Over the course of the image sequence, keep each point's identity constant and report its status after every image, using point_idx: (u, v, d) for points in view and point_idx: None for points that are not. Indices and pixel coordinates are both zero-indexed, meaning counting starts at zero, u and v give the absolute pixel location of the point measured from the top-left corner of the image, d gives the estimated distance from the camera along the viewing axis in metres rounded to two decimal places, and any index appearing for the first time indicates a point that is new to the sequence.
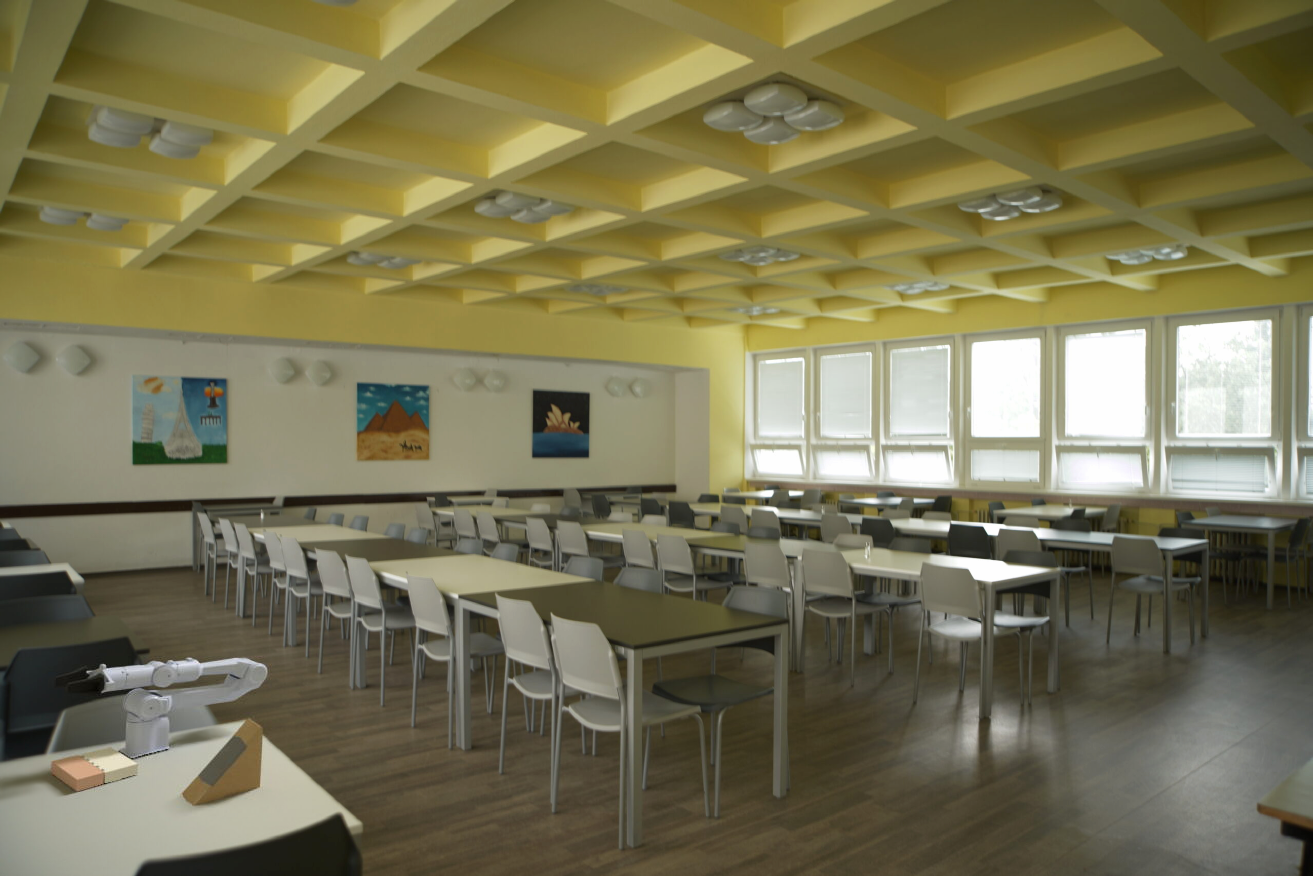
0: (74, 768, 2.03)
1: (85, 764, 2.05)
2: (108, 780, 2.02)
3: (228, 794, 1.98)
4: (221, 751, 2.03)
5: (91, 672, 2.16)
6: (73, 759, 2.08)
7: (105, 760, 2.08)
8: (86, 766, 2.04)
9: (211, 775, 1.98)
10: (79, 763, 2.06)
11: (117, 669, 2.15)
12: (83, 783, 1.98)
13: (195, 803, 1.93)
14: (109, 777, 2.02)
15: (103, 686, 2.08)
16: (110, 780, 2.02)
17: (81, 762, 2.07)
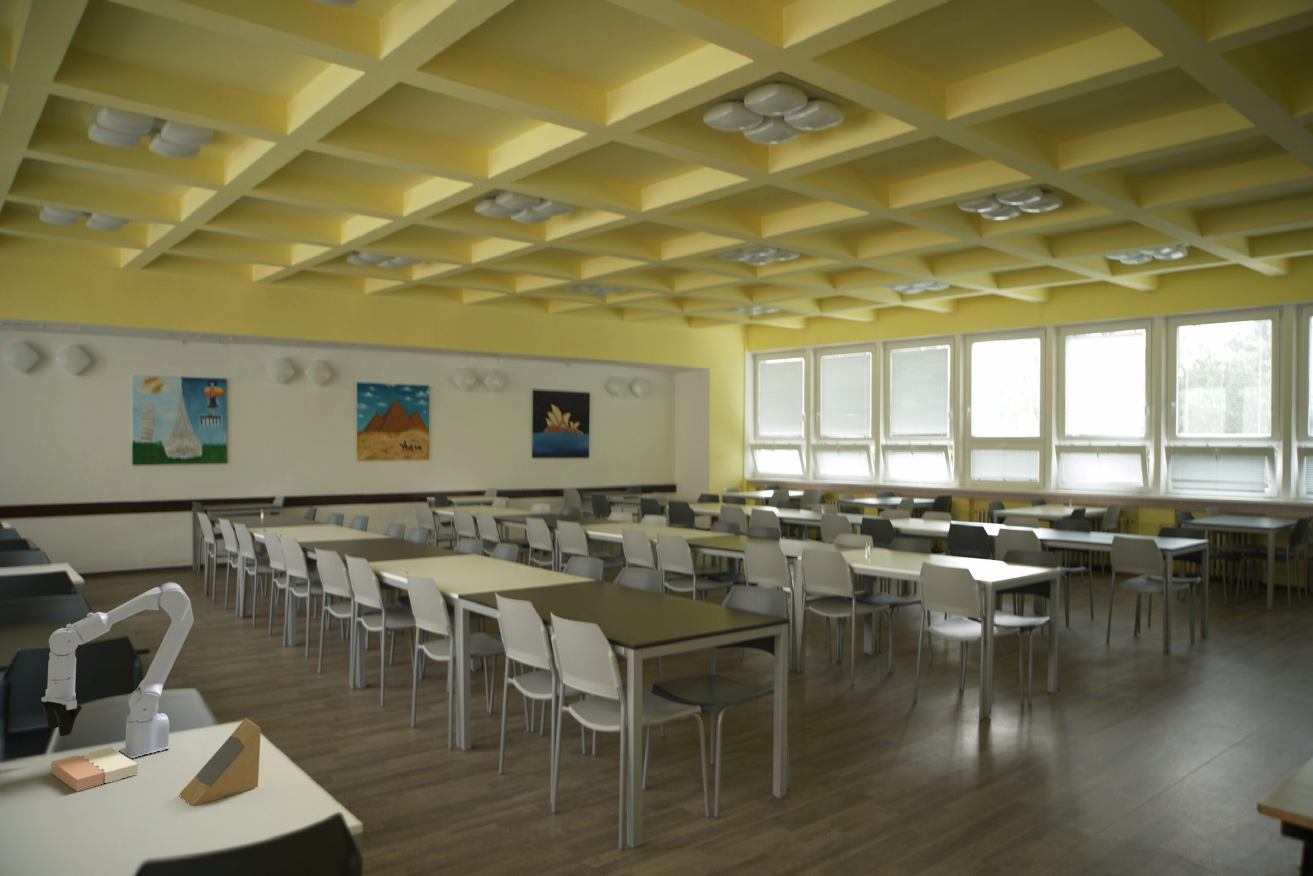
0: (74, 768, 2.03)
1: (85, 764, 2.05)
2: (108, 780, 2.02)
3: (226, 794, 1.98)
4: (218, 751, 2.03)
5: None
6: (73, 759, 2.08)
7: (105, 760, 2.08)
8: (86, 766, 2.04)
9: (209, 775, 1.97)
10: (79, 763, 2.06)
11: (50, 687, 2.08)
12: (83, 783, 1.98)
13: (193, 804, 1.93)
14: (109, 777, 2.02)
15: (70, 708, 2.07)
16: (110, 780, 2.02)
17: (81, 762, 2.07)
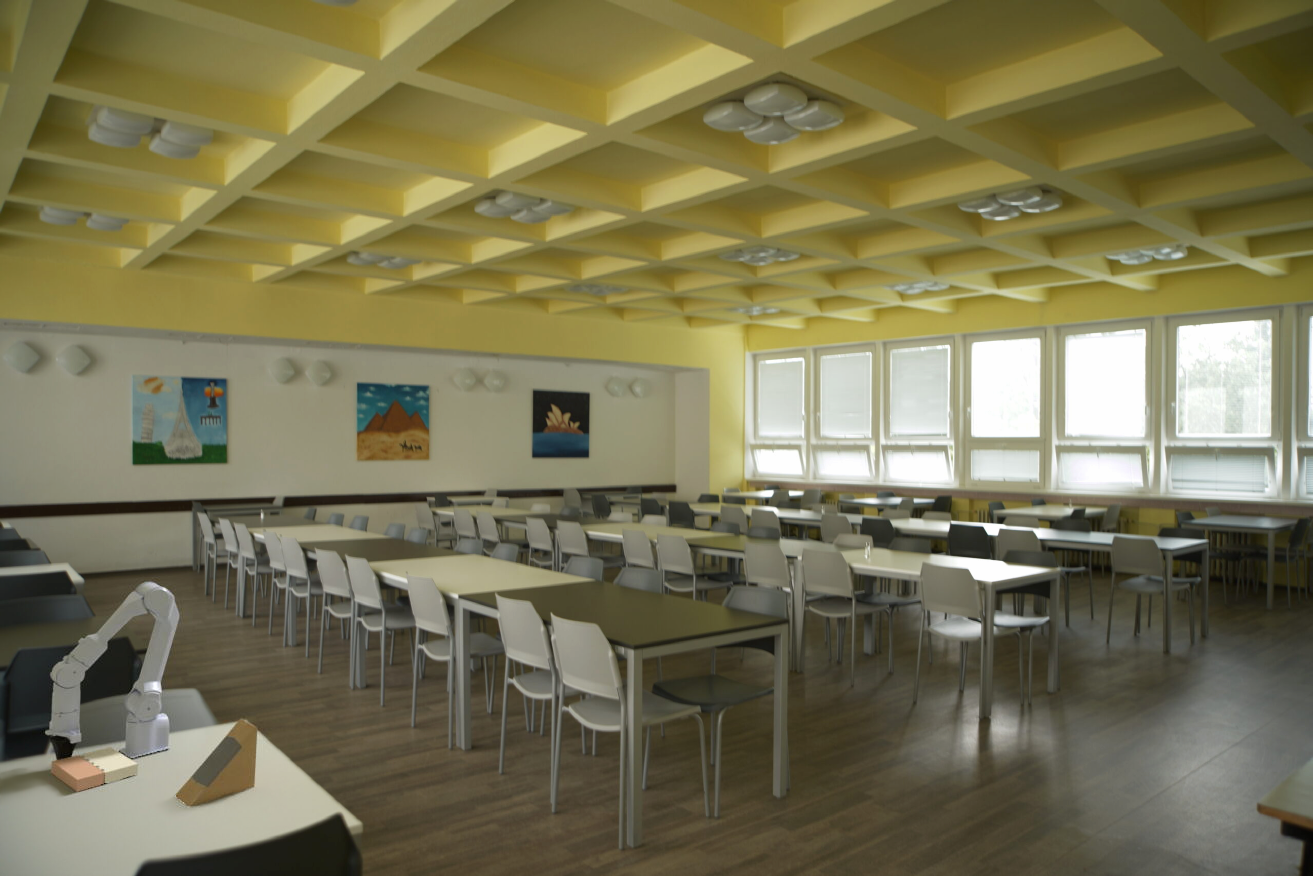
0: (75, 768, 2.03)
1: (85, 764, 2.05)
2: (108, 780, 2.02)
3: (223, 794, 1.98)
4: (214, 752, 2.03)
5: None
6: (73, 759, 2.08)
7: (105, 760, 2.08)
8: (86, 766, 2.04)
9: (206, 776, 1.97)
10: (79, 763, 2.06)
11: (54, 720, 2.06)
12: (83, 783, 1.98)
13: (191, 804, 1.92)
14: (109, 777, 2.02)
15: None
16: (110, 780, 2.02)
17: (81, 762, 2.06)
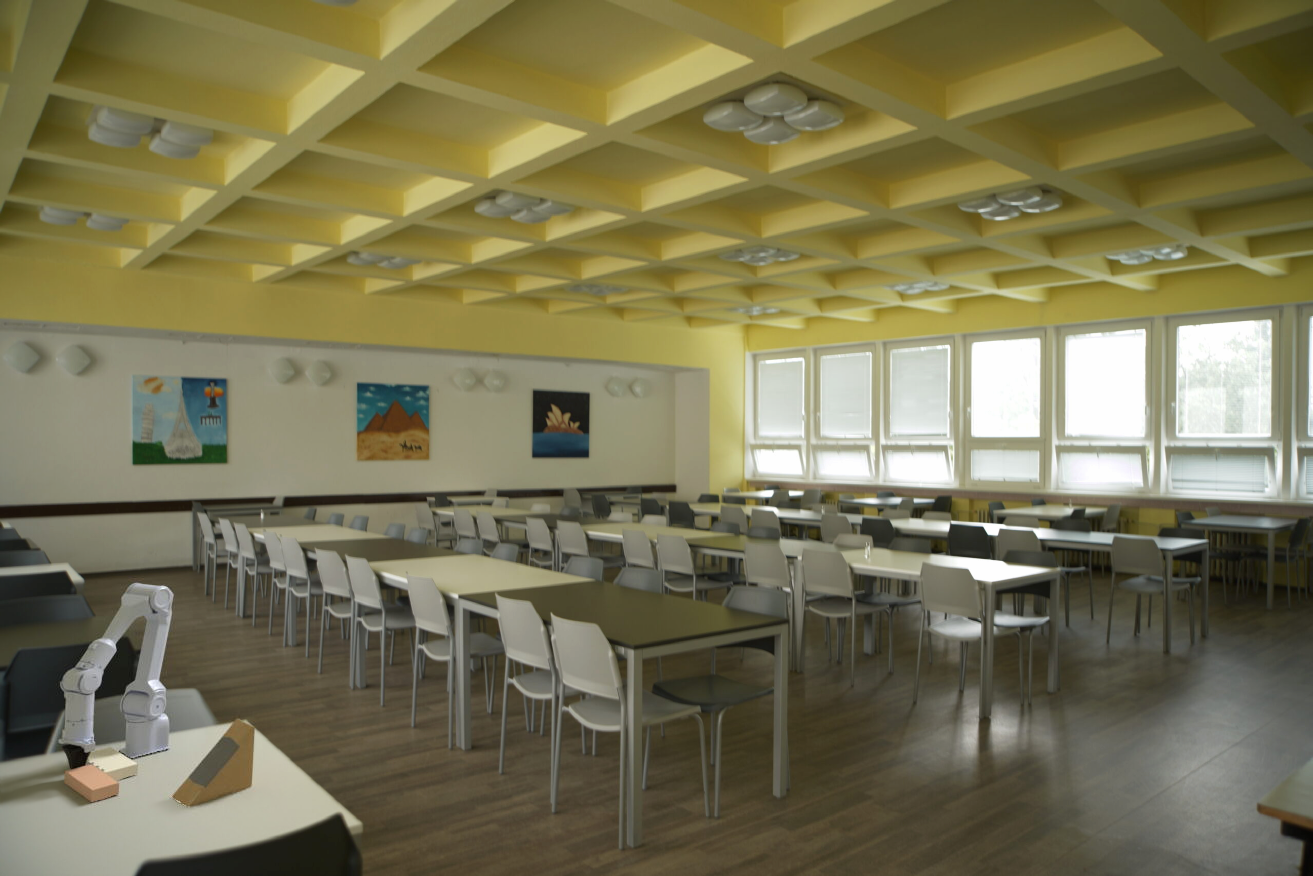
0: (89, 778, 1.98)
1: (99, 774, 2.00)
2: None
3: (221, 795, 1.98)
4: (211, 752, 2.02)
5: None
6: (87, 768, 2.03)
7: (105, 760, 2.08)
8: (100, 776, 1.99)
9: (203, 776, 1.97)
10: (93, 772, 2.01)
11: (68, 728, 2.01)
12: (98, 793, 1.93)
13: (189, 805, 1.92)
14: None
15: None
16: None
17: (96, 771, 2.01)
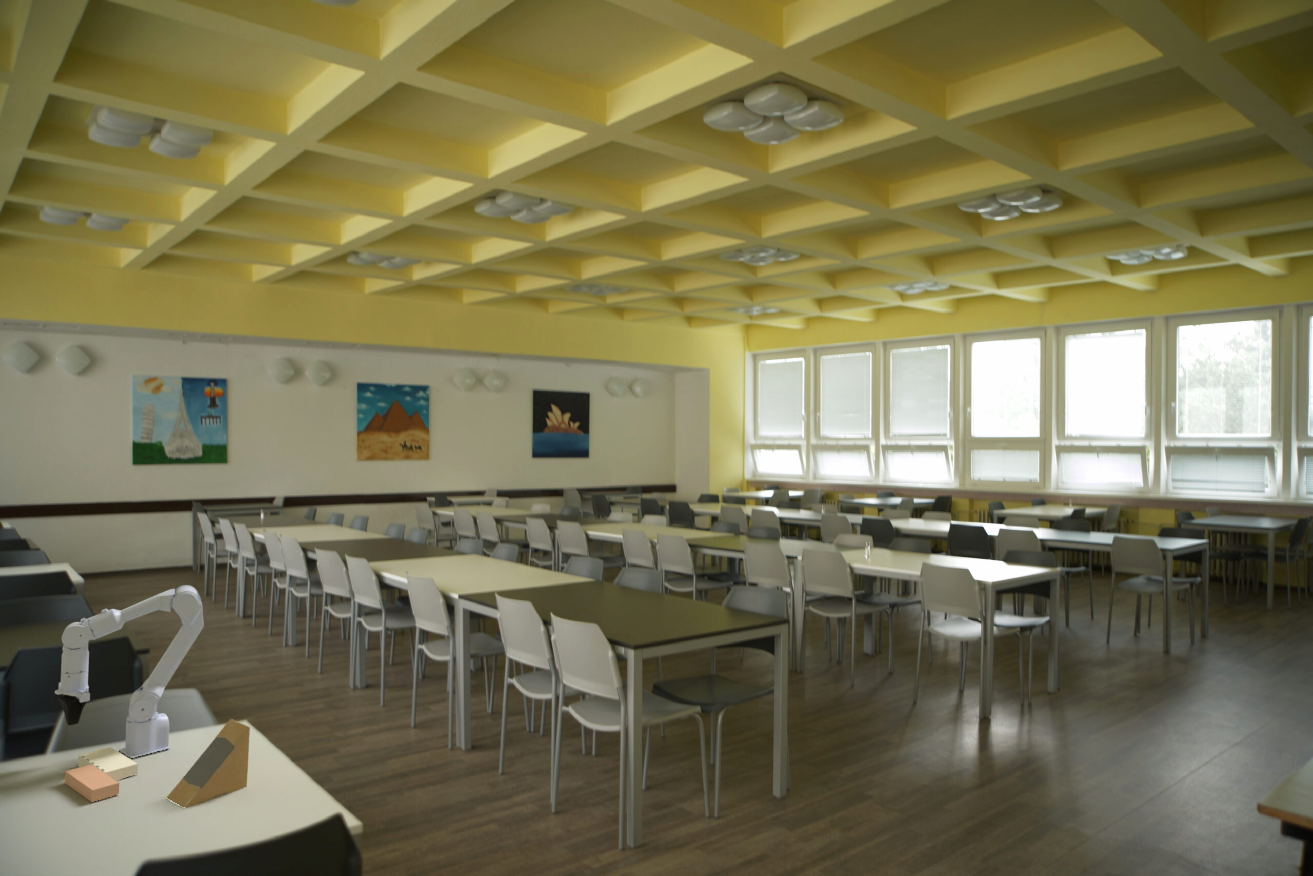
0: (89, 778, 1.98)
1: (99, 774, 2.00)
2: None
3: (217, 795, 1.97)
4: (205, 753, 2.02)
5: None
6: (87, 768, 2.03)
7: (105, 760, 2.08)
8: (100, 776, 1.99)
9: (199, 777, 1.96)
10: (94, 773, 2.01)
11: (64, 680, 2.11)
12: (98, 793, 1.93)
13: (185, 806, 1.91)
14: None
15: (83, 701, 2.10)
16: None
17: (96, 771, 2.01)
